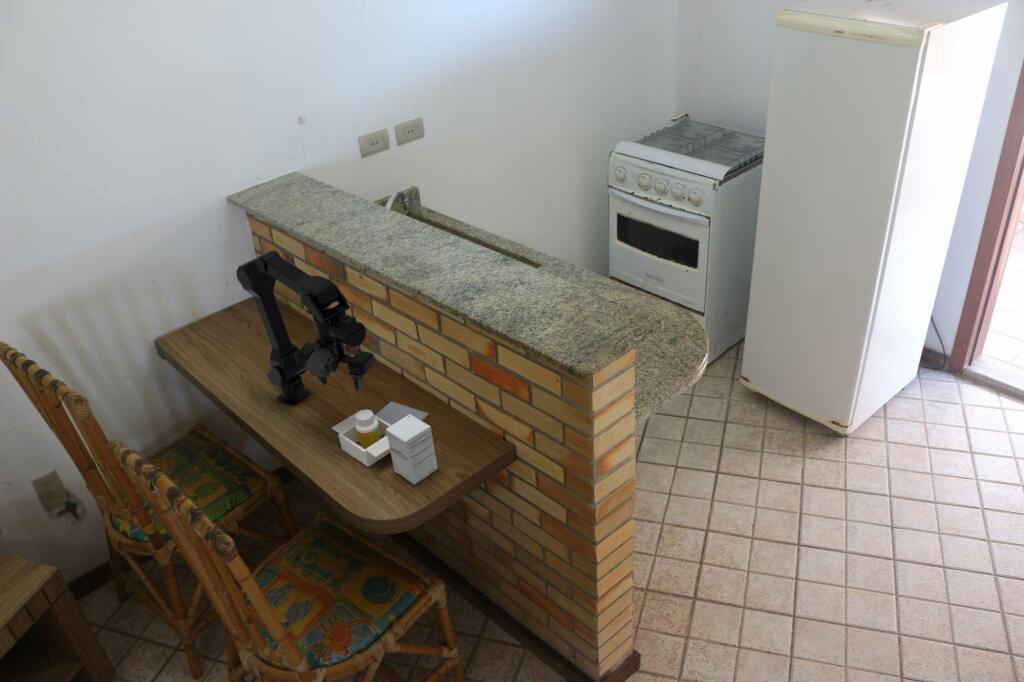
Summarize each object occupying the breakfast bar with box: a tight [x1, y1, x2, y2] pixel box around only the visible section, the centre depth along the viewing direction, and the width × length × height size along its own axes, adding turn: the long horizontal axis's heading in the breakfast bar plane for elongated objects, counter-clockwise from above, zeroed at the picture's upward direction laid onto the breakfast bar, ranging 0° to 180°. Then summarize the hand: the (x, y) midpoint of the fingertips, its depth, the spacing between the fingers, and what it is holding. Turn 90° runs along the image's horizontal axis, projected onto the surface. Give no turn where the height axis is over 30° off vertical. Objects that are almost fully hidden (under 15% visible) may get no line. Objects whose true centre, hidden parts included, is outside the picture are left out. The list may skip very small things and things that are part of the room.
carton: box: [331, 409, 391, 468], centre depth 199 cm, size 17×10×4 cm, turn 46°
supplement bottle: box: [355, 409, 383, 449], centre depth 198 cm, size 5×5×10 cm
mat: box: [374, 401, 430, 425], centre depth 209 cm, size 12×8×1 cm, turn 58°
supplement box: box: [386, 414, 438, 485], centre depth 188 cm, size 7×7×13 cm
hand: (341, 387), depth 201 cm, fingers open, 9 cm apart
